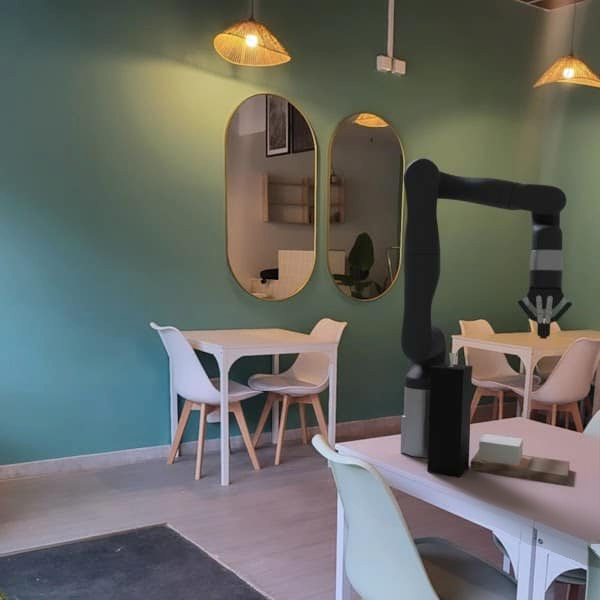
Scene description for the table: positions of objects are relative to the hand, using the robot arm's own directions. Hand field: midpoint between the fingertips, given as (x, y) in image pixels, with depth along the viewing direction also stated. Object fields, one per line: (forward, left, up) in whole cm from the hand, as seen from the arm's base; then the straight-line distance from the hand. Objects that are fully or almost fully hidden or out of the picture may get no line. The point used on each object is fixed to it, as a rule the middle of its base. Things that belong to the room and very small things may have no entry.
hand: (543, 338), depth 148 cm
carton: (-8, -10, -29) cm, 32 cm away
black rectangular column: (-19, -19, -31) cm, 41 cm away
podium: (-4, -10, -31) cm, 33 cm away
